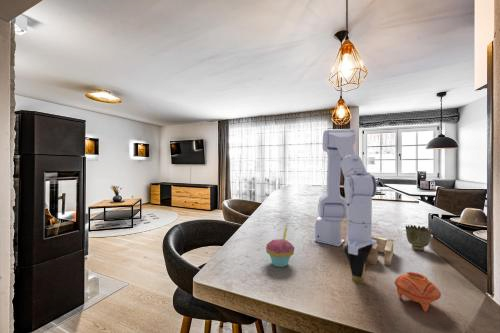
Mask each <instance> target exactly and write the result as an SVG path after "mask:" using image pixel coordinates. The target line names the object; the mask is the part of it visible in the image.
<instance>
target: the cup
mask: <svg viewBox="0 0 500 333" xmlns="http://www.w3.org/2000/svg"><path fill="white" fill-rule="evenodd" d="M432 231H433V229H429V228H428V227H425V226H420V225H418V226H417V225H412V224H411V225H409V224H408V225H407V224H406V225H405V233H406V234H405V235H406V240H407V241H408V243H409V244H411V249H412V250H414V251H417V252H424V251H425V248H426V247H427V246H429V244H430V242H431V237H432Z"/></svg>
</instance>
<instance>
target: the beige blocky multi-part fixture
mask: <svg viewBox="0 0 500 333" xmlns="http://www.w3.org/2000/svg"><path fill="white" fill-rule="evenodd" d="M371 239H374V240H377V243H376V244H378V252H379V251H380V253H383V252H384V253H383V254H384V255H383V256H384V257H383V260H384V261H383V264H386V265H385V266H388V265H390V266H389V267H391V265H392V261H393V255H394V239H391V238H390V239H389V238H384V237H379V236H374V235H373V236H372V235H371ZM346 245H347V246H348V243H347V242H346Z"/></svg>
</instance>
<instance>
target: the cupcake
mask: <svg viewBox="0 0 500 333" xmlns="http://www.w3.org/2000/svg"><path fill="white" fill-rule="evenodd" d="M287 226H288V224H286V226H284V231H283V236H282V238H278V239H272V240H270V241H269V242H268V243H266V246H265V251H266V253H267V254H268V255H269V256H270V261H271V263H272V265H273V266H275V267H278V268H283V267H287V266H288V265H289V262H290V258H291V256H294V254H295V246H294V245H293V244H292V242H289V241H288V240H286V237H287V230H288V228H287Z"/></svg>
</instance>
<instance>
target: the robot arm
mask: <svg viewBox="0 0 500 333" xmlns="http://www.w3.org/2000/svg"><path fill="white" fill-rule="evenodd" d="M356 138H357V134H356V131H355V130H354V128H341V129H339V128H334V129H333V128H332V129H329V128H326V129H324V131H323V133H322V150H323V152H326V154H327V171H326V172H327V173H326V193H325V194H323V195H322V196H320V197H319V199H318V204H317V213H318V217H317V218H316V219H315V224H314V225H315V226H314V227H315V228H314V229H315V230H314V232H315V233H314V234H315V237H314V242H318V243H321V244H327V245H332V246H335V247H340V246H342V244H343V243H344V242H345V241H346V245H344V247H343V250H344V253H345V254H346V256H347V259H348V263H349V268H350V272H351V276H352V275H353V276H357V277H360V278H361V277H362V274H363V269H364V264H365V266H366V267H367V265H366V262H367V257H368V255H369V253H370V250H371V248H372V247H373V245H376V243H377V240H374V239H371V236H372V221H373V220H372V216H373V214H372V212H373V207H372V206H373V205H372V204H373V202H372V201H373V198H374V197H375V196H376V195H377V194H376V193H377V190H378V189H377V188H378V187H377V186H378V184H377V180H376V178H375V176H374V175H373V174H372V173H371V172H368V171H367V169H366V167H365V165H364V163H363V160H362V158H361V157H360V156H359V155H356V153H355V149H354V148H355V147H354V145H355V144H356V141H357V140H356ZM341 172H342V174H343V177H344V182H343V183H344V184H343V189H344V196H345V198H344V197H343V196H341V195H340V189H341V187H340V186H341ZM344 219H346V236H345V239H343V238H342V235H343V234H342V228H343V226H342V225H343V221H344ZM347 243H348V246H347Z"/></svg>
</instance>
